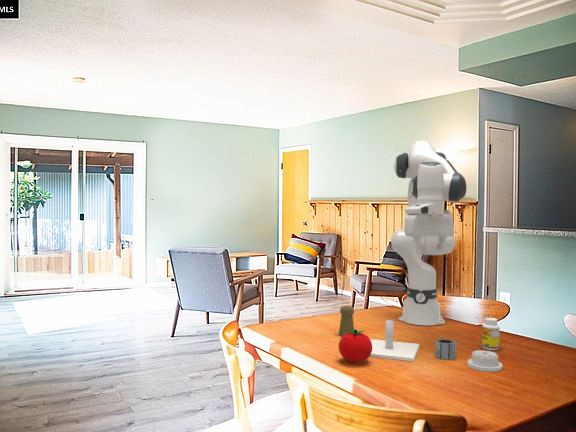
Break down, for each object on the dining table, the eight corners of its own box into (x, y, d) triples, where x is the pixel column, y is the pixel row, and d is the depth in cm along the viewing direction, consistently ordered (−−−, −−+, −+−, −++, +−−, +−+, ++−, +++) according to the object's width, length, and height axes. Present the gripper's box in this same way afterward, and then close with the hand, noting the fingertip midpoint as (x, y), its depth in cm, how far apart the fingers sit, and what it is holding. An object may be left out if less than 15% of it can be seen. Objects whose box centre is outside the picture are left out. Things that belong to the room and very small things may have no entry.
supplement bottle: (479, 346, 183) (479, 317, 183) (494, 346, 184) (495, 317, 183) (485, 350, 178) (486, 320, 177) (502, 350, 178) (502, 320, 178)
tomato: (331, 359, 166) (332, 328, 165) (358, 355, 171) (358, 324, 171) (352, 369, 157) (352, 335, 156) (379, 363, 162) (379, 331, 162)
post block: (367, 341, 188) (368, 313, 188) (419, 346, 182) (419, 317, 181) (356, 355, 171) (357, 324, 171) (413, 361, 165) (414, 329, 165)
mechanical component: (485, 361, 167) (460, 364, 163) (485, 347, 167) (460, 350, 163) (509, 370, 158) (484, 374, 154) (510, 355, 158) (484, 359, 154)
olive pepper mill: (354, 337, 193) (354, 307, 193) (337, 336, 194) (338, 307, 194) (355, 333, 199) (355, 304, 198) (339, 332, 200) (339, 304, 200)
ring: (436, 353, 174) (436, 338, 174) (455, 355, 172) (455, 340, 172) (434, 358, 168) (434, 342, 168) (454, 360, 166) (455, 344, 166)
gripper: (444, 210, 187) (444, 249, 187) (401, 208, 176) (400, 250, 176) (458, 209, 181) (458, 250, 181) (415, 208, 171) (414, 251, 171)
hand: (429, 250), depth 179 cm, fingers open, 8 cm apart
